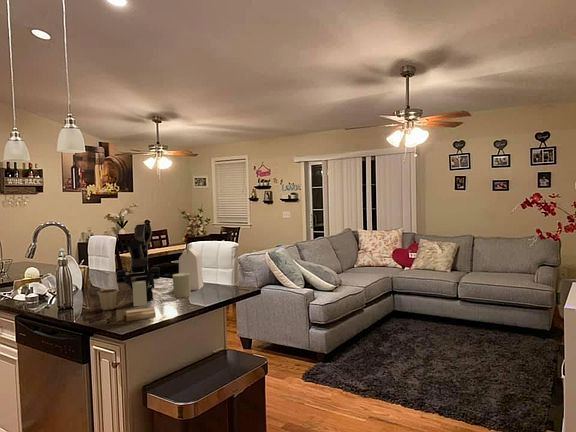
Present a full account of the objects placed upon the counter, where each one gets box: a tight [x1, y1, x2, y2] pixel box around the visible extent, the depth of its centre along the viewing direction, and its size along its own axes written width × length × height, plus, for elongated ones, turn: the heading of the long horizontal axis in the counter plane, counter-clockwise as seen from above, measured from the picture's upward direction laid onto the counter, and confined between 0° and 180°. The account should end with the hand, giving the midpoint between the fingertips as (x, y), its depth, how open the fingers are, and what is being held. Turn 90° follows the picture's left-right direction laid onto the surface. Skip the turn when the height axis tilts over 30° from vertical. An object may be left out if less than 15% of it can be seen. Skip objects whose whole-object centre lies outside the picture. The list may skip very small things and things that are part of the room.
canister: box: [131, 280, 148, 307], centre depth 195 cm, size 6×6×10 cm
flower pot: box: [96, 288, 119, 311], centre depth 212 cm, size 9×9×9 cm
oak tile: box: [125, 306, 157, 322], centre depth 195 cm, size 12×12×2 cm
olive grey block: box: [172, 272, 192, 299], centre depth 235 cm, size 9×9×12 cm
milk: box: [178, 243, 204, 291], centre depth 256 cm, size 12×12×26 cm
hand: (139, 290), depth 193 cm, fingers closed on canister, 6 cm apart
